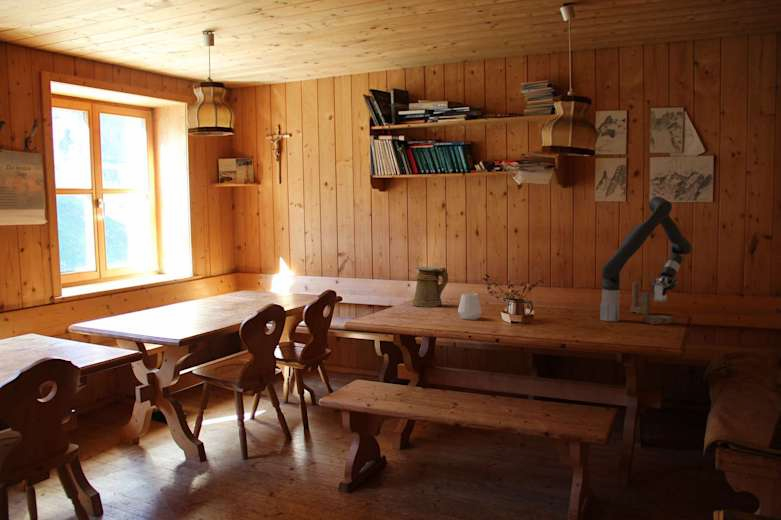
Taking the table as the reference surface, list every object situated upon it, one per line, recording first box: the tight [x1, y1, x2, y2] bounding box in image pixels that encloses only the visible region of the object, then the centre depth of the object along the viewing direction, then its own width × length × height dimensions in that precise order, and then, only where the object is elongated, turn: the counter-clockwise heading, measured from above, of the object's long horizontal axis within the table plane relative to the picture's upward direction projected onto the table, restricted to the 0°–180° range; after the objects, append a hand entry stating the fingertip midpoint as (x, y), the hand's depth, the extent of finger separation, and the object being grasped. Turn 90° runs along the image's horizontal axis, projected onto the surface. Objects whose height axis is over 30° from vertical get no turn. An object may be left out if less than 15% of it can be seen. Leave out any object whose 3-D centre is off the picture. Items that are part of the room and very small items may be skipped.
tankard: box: [412, 266, 449, 308], centre depth 435 cm, size 18×24×25 cm
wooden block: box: [630, 281, 652, 315], centre depth 400 cm, size 4×11×18 cm, turn 40°
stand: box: [642, 315, 676, 325], centre depth 367 cm, size 14×9×3 cm, turn 109°
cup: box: [457, 292, 482, 321], centre depth 385 cm, size 13×13×14 cm
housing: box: [653, 283, 668, 303], centre depth 366 cm, size 5×5×10 cm
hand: (658, 294), depth 365 cm, fingers closed on housing, 4 cm apart
